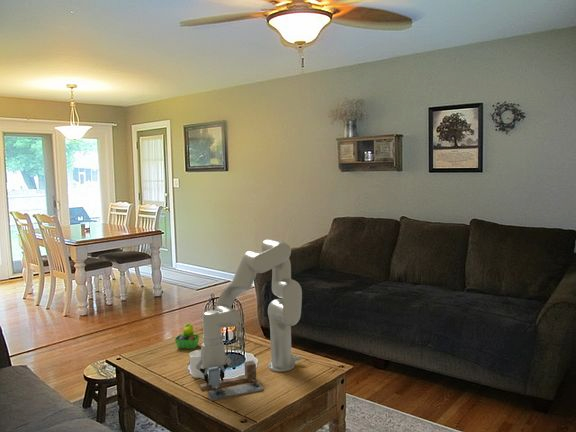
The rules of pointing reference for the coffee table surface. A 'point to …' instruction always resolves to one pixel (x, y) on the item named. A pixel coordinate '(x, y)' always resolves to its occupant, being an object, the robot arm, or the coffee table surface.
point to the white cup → (195, 363)
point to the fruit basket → (187, 338)
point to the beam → (249, 376)
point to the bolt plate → (235, 391)
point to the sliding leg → (214, 377)
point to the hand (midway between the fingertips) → (214, 380)
